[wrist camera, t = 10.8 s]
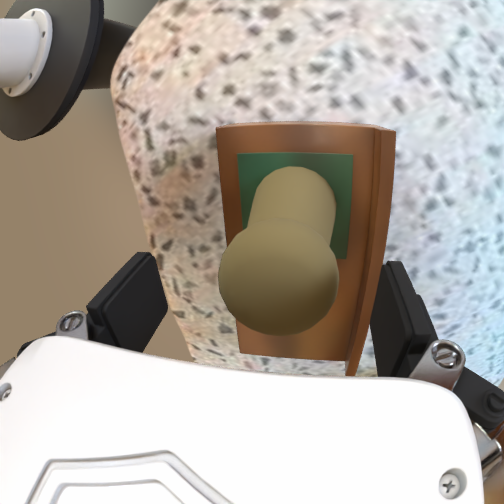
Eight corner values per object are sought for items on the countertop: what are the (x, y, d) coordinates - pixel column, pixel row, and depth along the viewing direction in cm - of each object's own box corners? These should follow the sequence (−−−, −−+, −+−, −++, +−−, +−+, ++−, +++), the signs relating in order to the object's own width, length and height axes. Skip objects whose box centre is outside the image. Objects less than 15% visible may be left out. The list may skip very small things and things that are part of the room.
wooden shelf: (249, 322, 33) (235, 367, 27) (233, 123, 23) (205, 129, 17) (351, 329, 31) (355, 376, 25) (374, 124, 21) (396, 131, 15)
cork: (238, 187, 21) (169, 265, 11) (314, 152, 18) (315, 203, 9) (276, 256, 23) (244, 366, 13) (349, 228, 20) (369, 335, 11)
